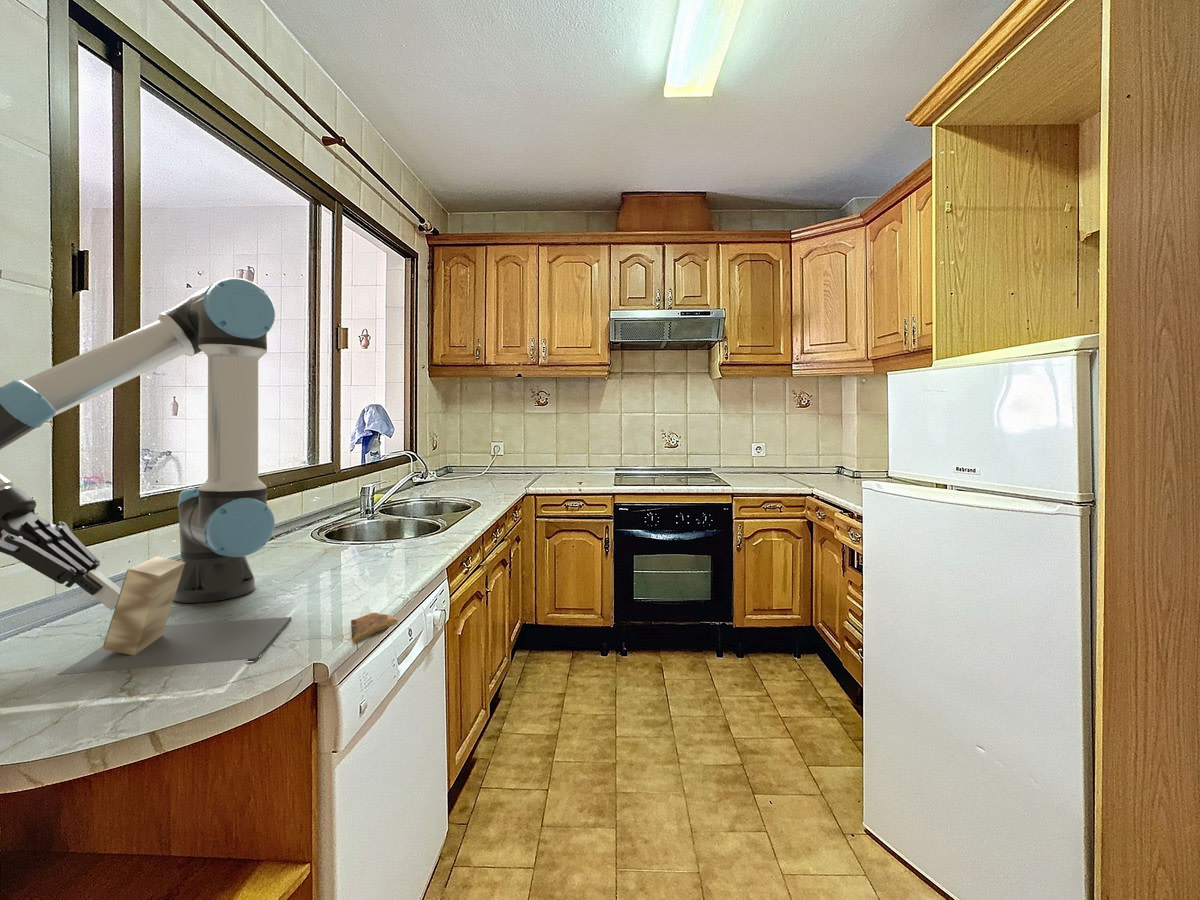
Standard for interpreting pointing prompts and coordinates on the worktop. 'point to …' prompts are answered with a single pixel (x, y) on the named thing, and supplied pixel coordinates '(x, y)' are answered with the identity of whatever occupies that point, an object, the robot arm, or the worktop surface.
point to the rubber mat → (191, 646)
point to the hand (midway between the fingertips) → (120, 602)
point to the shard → (370, 625)
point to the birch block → (143, 605)
